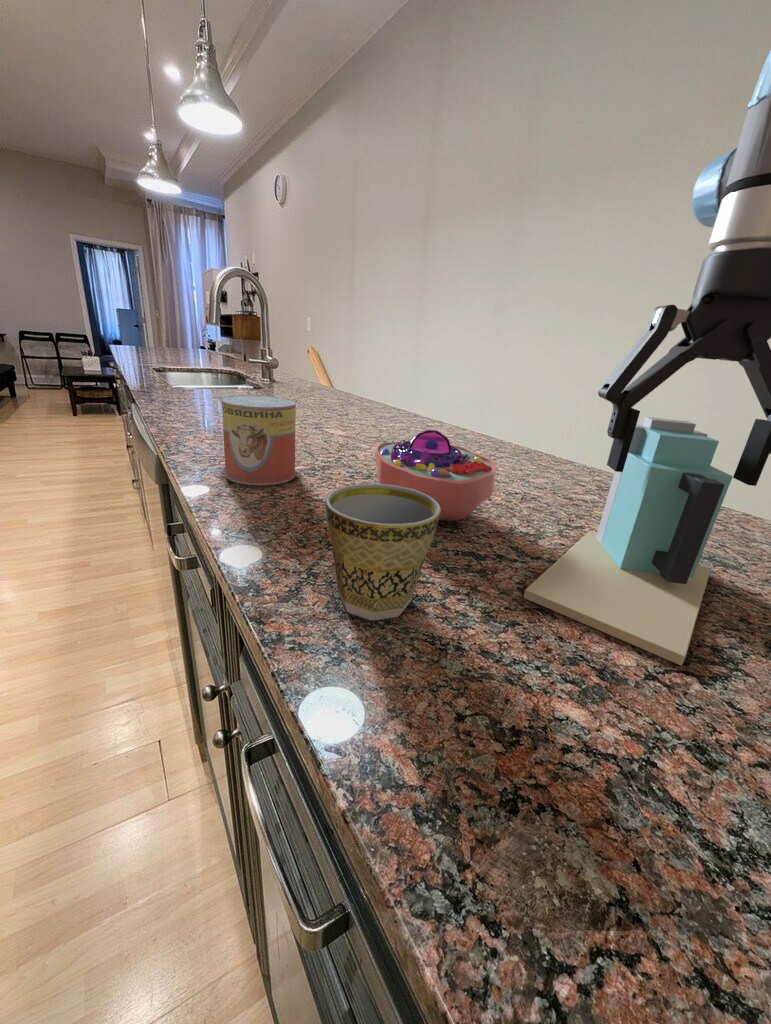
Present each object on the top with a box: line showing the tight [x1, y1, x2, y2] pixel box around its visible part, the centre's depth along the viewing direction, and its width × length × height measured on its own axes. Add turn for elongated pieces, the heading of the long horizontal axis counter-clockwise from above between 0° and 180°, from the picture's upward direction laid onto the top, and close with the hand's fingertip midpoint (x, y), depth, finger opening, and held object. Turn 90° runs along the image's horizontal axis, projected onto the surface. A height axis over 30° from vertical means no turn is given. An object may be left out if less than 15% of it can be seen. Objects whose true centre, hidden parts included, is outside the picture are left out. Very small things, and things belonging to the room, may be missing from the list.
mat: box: [523, 530, 711, 666], centre depth 49 cm, size 22×14×1 cm, turn 141°
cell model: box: [373, 429, 497, 522], centre depth 62 cm, size 17×20×11 cm
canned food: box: [220, 394, 297, 486], centre depth 72 cm, size 11×11×12 cm
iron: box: [596, 416, 734, 584], centre depth 50 cm, size 16×8×12 cm
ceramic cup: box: [324, 483, 441, 622], centre depth 42 cm, size 13×10×10 cm
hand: (678, 475), depth 49 cm, fingers open, 13 cm apart
